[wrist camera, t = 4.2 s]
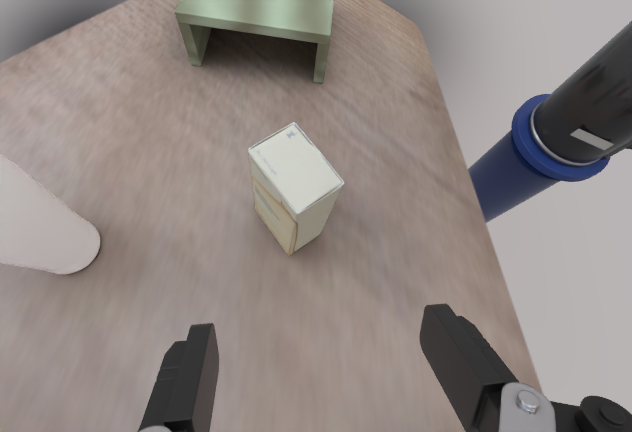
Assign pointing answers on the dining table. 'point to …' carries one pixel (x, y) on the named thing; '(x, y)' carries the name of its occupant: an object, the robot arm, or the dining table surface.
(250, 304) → the dining table surface
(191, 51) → the shelf
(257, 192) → the cosmetic box
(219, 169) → the dining table surface
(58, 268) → the white tumbler
